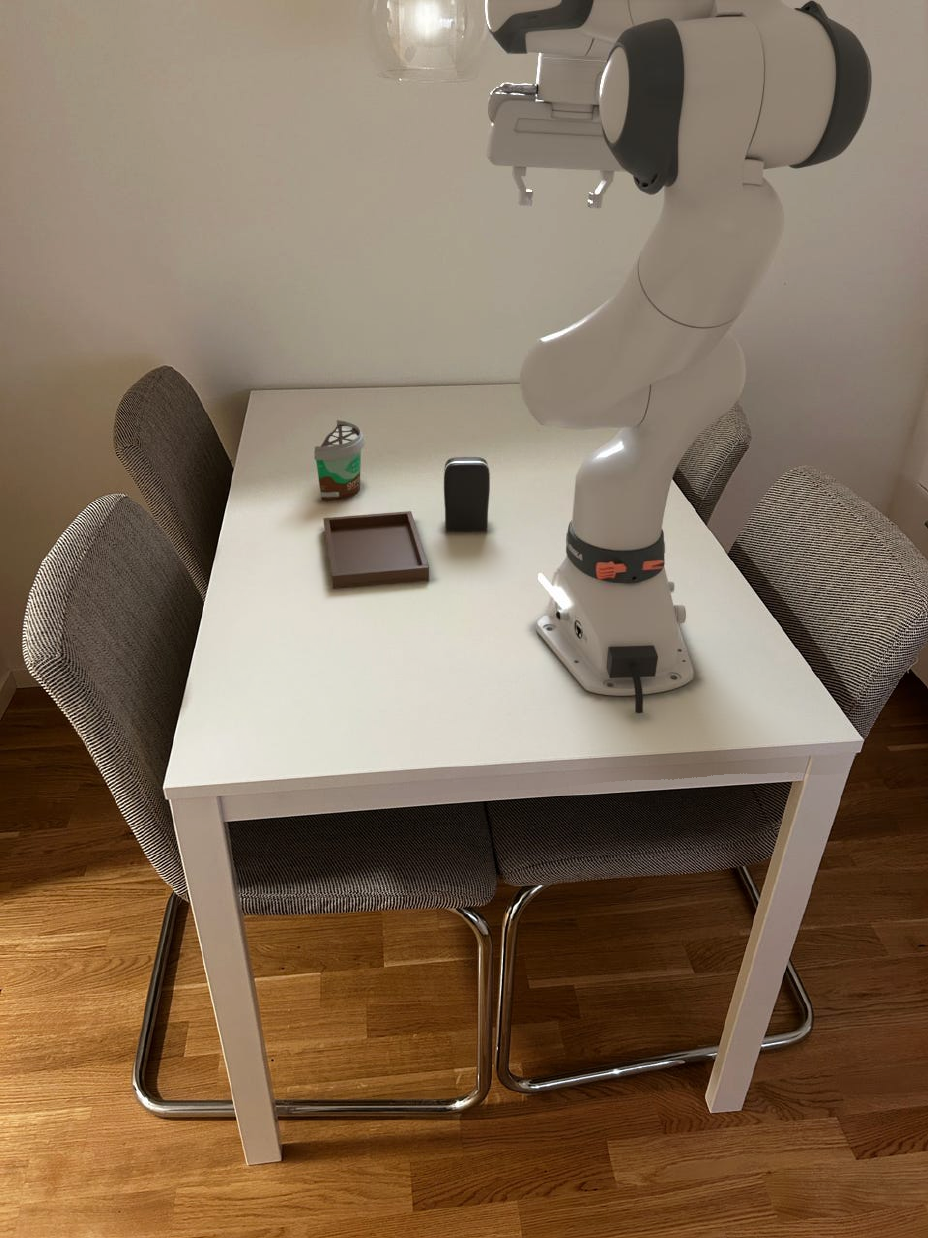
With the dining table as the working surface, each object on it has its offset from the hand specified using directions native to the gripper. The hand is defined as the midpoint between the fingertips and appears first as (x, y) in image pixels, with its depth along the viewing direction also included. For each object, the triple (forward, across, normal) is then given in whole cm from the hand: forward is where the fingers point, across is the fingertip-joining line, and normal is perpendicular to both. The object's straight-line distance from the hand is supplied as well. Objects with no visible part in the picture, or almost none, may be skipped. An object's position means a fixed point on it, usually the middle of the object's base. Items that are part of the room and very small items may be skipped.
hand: (559, 206), depth 125 cm
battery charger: (+47, -10, 0) cm, 48 cm away
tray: (+48, -25, -7) cm, 54 cm away
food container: (+47, -28, +14) cm, 57 cm away
